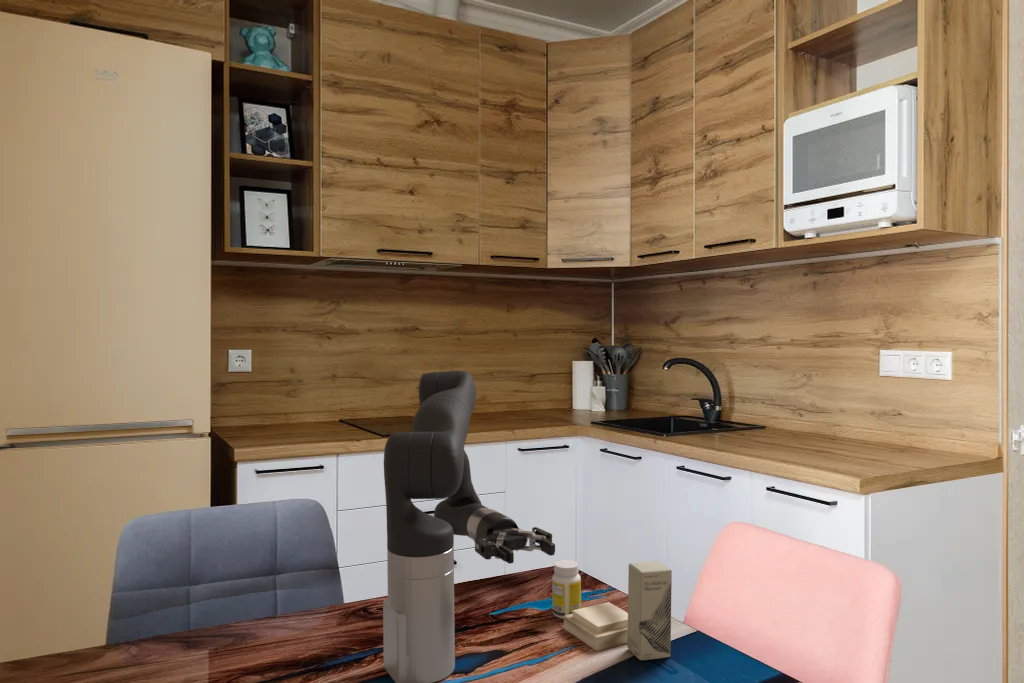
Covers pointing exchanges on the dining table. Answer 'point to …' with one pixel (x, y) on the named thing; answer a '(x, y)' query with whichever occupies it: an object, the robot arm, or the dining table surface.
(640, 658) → the box
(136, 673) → the dining table surface
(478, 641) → the dining table surface
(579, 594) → the supplement bottle
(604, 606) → the cream stand
